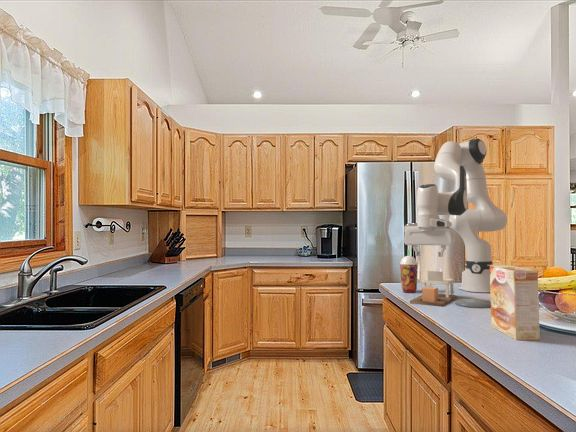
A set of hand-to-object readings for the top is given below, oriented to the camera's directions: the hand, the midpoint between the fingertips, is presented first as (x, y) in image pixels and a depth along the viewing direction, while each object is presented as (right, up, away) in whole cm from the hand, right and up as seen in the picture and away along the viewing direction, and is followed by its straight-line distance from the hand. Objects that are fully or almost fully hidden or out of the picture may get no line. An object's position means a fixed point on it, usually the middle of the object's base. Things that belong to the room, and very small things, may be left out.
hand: (429, 256), depth 170 cm
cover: (+7, -18, +9) cm, 21 cm away
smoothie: (-1, -20, +25) cm, 32 cm away
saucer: (+16, -19, -7) cm, 25 cm away
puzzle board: (+3, -19, +4) cm, 20 cm away
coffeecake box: (+9, -18, -48) cm, 52 cm away
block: (0, -19, 0) cm, 19 cm away
